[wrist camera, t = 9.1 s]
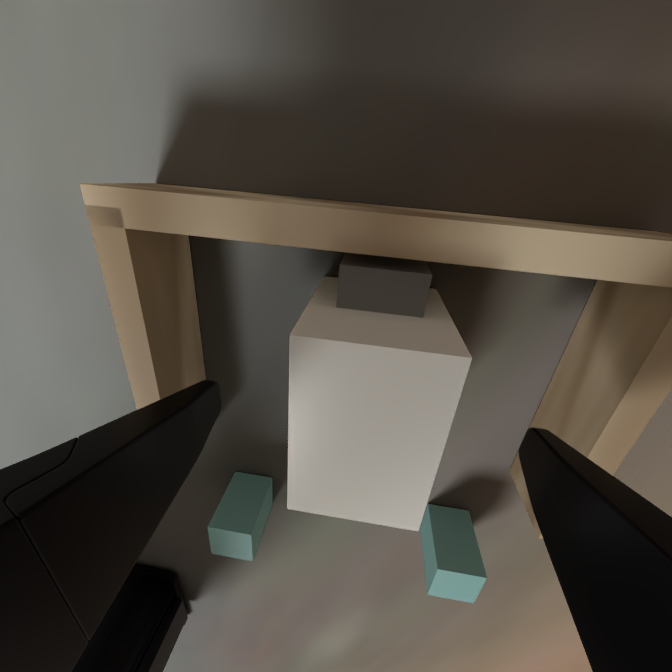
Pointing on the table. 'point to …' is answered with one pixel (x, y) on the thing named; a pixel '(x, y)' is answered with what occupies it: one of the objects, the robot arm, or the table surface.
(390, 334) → the block
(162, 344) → the open wooden frame
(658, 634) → the robot arm
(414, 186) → the table surface
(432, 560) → the teal block pair
